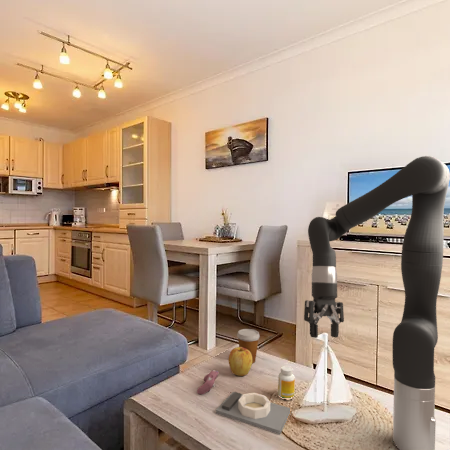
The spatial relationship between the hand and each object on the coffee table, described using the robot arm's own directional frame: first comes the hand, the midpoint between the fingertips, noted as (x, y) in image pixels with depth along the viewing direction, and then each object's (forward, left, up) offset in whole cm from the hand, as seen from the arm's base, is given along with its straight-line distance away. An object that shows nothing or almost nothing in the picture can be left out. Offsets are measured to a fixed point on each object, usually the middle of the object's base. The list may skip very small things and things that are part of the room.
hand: (324, 337), depth 95 cm
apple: (+33, -13, -24) cm, 43 cm away
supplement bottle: (+13, -6, -24) cm, 28 cm away
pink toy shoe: (+38, +2, -24) cm, 45 cm away
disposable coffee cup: (+35, -25, -24) cm, 49 cm away
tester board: (+19, +7, -24) cm, 32 cm away
